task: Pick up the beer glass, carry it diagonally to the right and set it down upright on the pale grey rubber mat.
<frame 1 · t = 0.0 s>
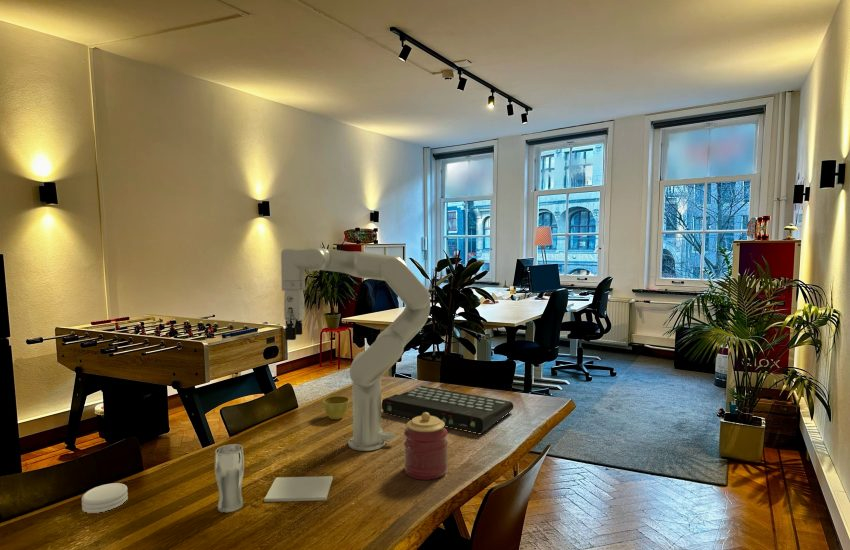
hand: (294, 337, 163), 37 cm above the table, tool pointing down, fingers open, 9 cm apart
white round disc stack: (105, 505, 127), on the table
computer keyboard: (447, 415, 197), on the table
canister: (425, 471, 146), on the table
grey mat: (300, 489, 134), on the table
beer glass: (230, 507, 125), on the table
flower pot: (336, 418, 192), on the table
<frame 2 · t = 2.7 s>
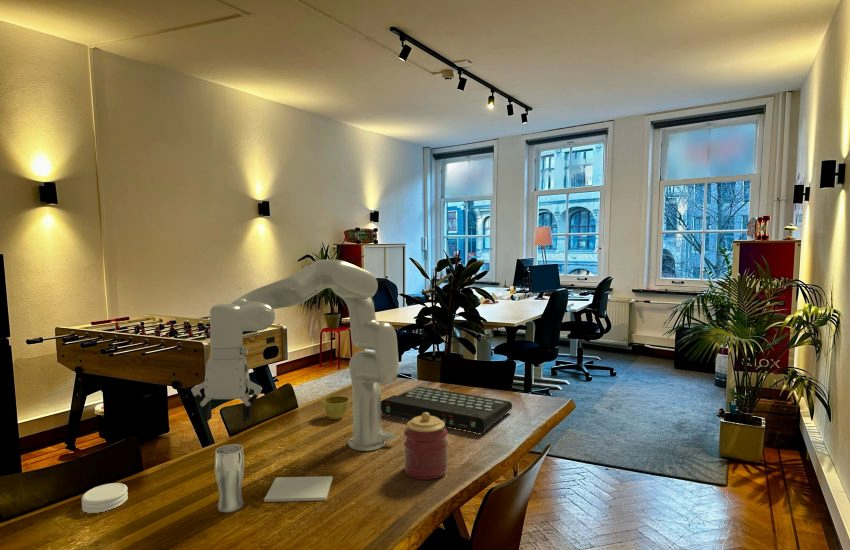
hand: (227, 420, 124), 23 cm above the table, tool pointing down, fingers open, 9 cm apart
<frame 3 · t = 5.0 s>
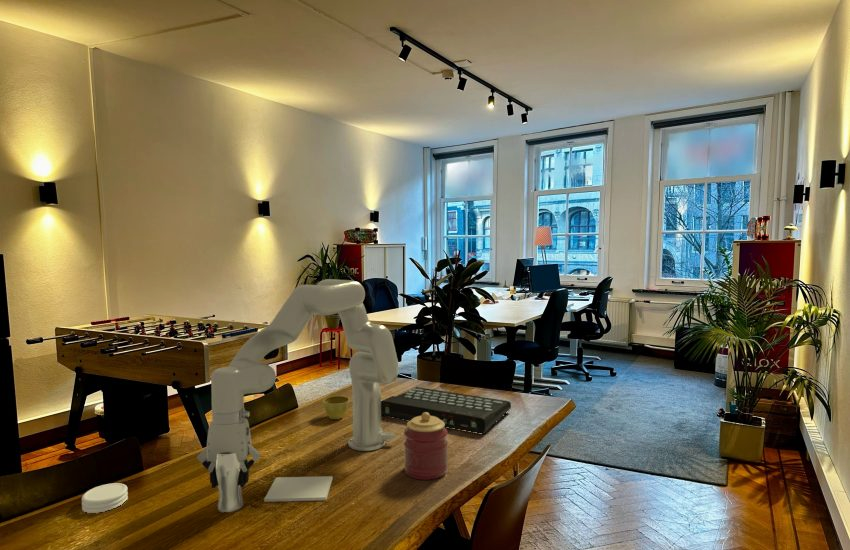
hand: (229, 484, 125), 6 cm above the table, tool pointing down, fingers closed on beer glass, 6 cm apart
beer glass: (230, 507, 125), on the table, touching gripper
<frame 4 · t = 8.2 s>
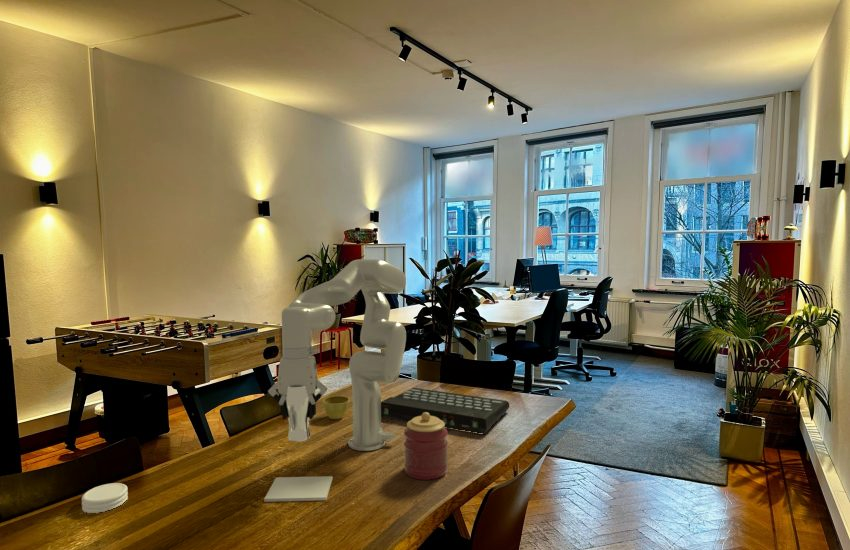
hand: (298, 417, 133), 20 cm above the table, tool pointing down, fingers closed on beer glass, 6 cm apart
beer glass: (299, 438, 134), point 14 cm above the table, touching gripper
when the fingers open (7 cm above the table, at t = 11.7 s): beer glass stays where it is, resting on grey mat.
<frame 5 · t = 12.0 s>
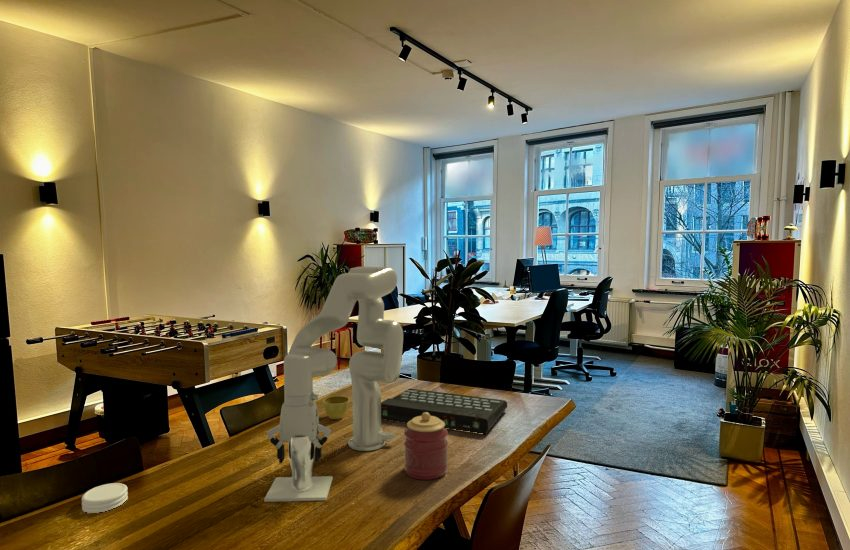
hand: (299, 460, 134), 8 cm above the table, tool pointing down, fingers open, 9 cm apart
beer glass: (302, 487, 134), point 1 cm above the table, touching grey mat
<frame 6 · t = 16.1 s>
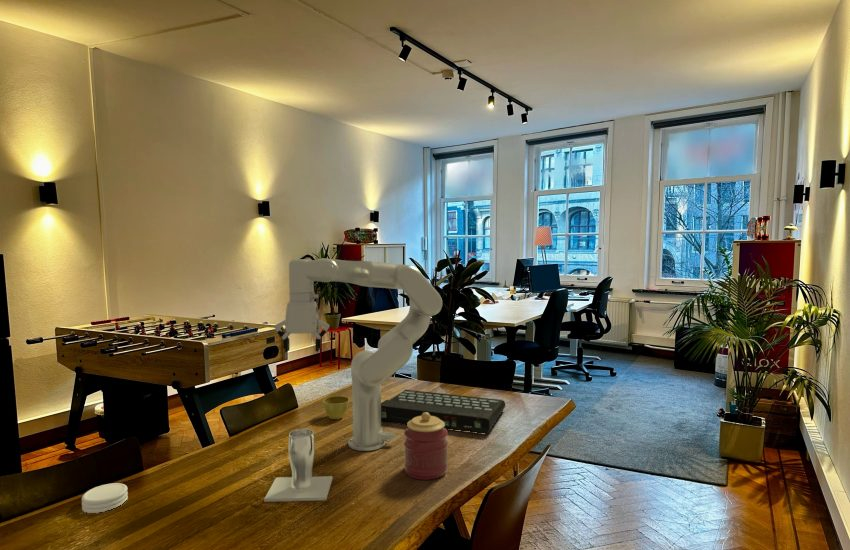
hand: (302, 350, 157), 33 cm above the table, tool pointing down, fingers open, 9 cm apart
at the end: beer glass inside the target area on the grey mat (0.5 cm from its centre), point 0.6 cm above the grey mat's base; beer glass tilted 0°; the gripper is holding nothing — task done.
